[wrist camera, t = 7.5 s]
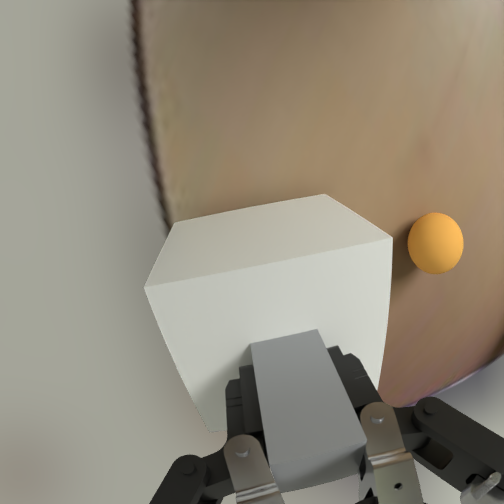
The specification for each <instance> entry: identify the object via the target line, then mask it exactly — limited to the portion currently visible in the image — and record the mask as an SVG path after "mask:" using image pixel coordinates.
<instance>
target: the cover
mask: <svg viewBox="0 0 504 504" xmlns="http://www.w3.org/2000/svg"><path fill="white" fill-rule="evenodd" d="M392 246H393V237H391V236H390V235H388V234H387V233H385V232H384V231H382V230H381V229H379V228H378V227H376V226H375V225H373V224H372V223H370V222H369V221H367V220H366V219H364V218H363V217H361V216H360V215H358V214H356V213H355V212H353V211H352V210H350V209H349V208H347V207H345V206H344V205H342V204H341V203H339V202H337V201H336V200H334V199H333V198H331V197H329V196H328V195H326V194H322V195H316V196H309V197H304V198H298V199H292V200H286V201H281V202H275V203H269V204H264V205H259V206H253V207H248V208H243V209H238V210H233V211H228V212H223V213H218V214H213V215H208V216H203V217H198V218H194V219H189V220H184V221H180V222H175V223H174V225H173V227H172V229H171V231H170V233H169V235H168V237H167V239H166V241H165V243H164V245H163V247H162V249H161V251H160V253H159V255H158V257H157V259H156V261H155V263H154V266H153V268H152V270H151V272H150V274H149V276H148V278H147V281H146V283H145V285H144V287H143V288H144V291H145V293H146V296H147V299H148V301H149V304H150V306H151V309H152V312H153V314H154V316H155V319H156V322H157V324H158V326H159V329H160V331H161V333H162V336H163V338H164V340H165V343H166V345H167V347H168V350H169V352H170V354H171V356H172V359H173V361H174V363H175V365H176V368H177V369H178V372H179V374H180V376H181V378H182V380H183V382H184V384H185V386H186V389H187V391H188V393H189V394H190V397H191V398H192V401H193V402H194V404H195V406H196V408H197V410H198V412H199V414H200V416H201V418H202V420H203V422H204V423H205V425H206V427H207V429H208V431H209V432H218V431H226V430H227V418H226V399H225V388H226V386H227V384H228V382H229V380H233V379H239V378H240V375H239V367H241V366H246V365H252V364H253V366H254V372H255V379H256V385H257V392H258V398H259V404H260V411H261V417H262V423H263V429H264V435H265V441H266V447H267V454H268V459H269V465H270V468H271V471H272V474H273V477H274V480H275V482H276V485H277V487H278V489H279V491H280V493H284V492H289V491H294V490H299V489H304V488H308V487H312V486H316V485H320V484H324V483H327V482H331V481H335V480H338V479H342V478H345V477H348V476H351V475H354V474H357V473H358V472H357V470H358V467H359V466H360V463H361V460H362V457H363V453H364V447H365V444H366V443H367V438H366V436H365V433H364V431H363V429H362V426H361V424H360V422H359V420H358V417H357V415H356V413H355V410H354V408H353V406H352V404H351V401H350V399H349V397H348V395H347V393H346V390H345V388H344V386H343V384H342V381H341V379H340V377H339V375H338V373H337V370H336V368H335V366H334V364H333V362H332V359H331V357H330V355H329V353H328V351H327V349H326V348H329V347H332V346H336V345H338V346H339V348H340V350H341V352H342V354H343V355H346V354H349V353H352V354H353V355H354V356H356V357H357V358H359V359H360V361H361V363H362V365H363V366H364V369H365V370H366V372H367V374H368V376H369V377H370V379H371V381H372V383H373V385H374V386H375V388H376V390H377V388H378V383H379V377H380V372H381V366H382V360H383V353H384V346H385V339H386V331H387V322H388V312H389V302H390V289H391V273H392Z"/></svg>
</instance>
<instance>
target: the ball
mask: <svg viewBox="0 0 504 504" xmlns="http://www.w3.org/2000/svg"><path fill="white" fill-rule="evenodd" d="M408 250H409V254H410V257H411V259H412V260H413V262H414V263H415V265H416V266H417V267H418V268H420V269H421V270H423V271H424V272H427V273H430V274H441V273H445V272H447V271H449V270H450V269H452V268H453V267H454V266H455V265H456V264H457V262H458V261H459V259H460V257H461V255H462V251H463V236H462V233H461V230H460V228H459V226H458V225H457V224H456V222H455V221H454V220H453V219H451V218H450V217H449V216H447V215H444V214H441V213H429V214H426V215H424V216H422V217H420V218H419V219H418V220H417V221H416V222H415V223H414V224H413V226H412V228H411V230H410V232H409V236H408Z"/></svg>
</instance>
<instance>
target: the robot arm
mask: <svg viewBox="0 0 504 504" xmlns="http://www.w3.org/2000/svg"><path fill="white" fill-rule="evenodd" d="M326 349H327V351H328V353H329V355H330V357H331V359H332V362H333V364H334V366H335V368H336V370H337V373H338V375H339V377H340V379H341V381H342V384H343V386H344V388H345V390H346V393H347V395H348V397H349V399H350V401H351V404H352V406H353V408H354V410H355V413H356V415H357V417H358V420H359V422H360V424H361V426H362V429H363V431H364V433H365V436H366V438H367V443H366V444H365V447H364V453H363V457H362V460H361V463H360V466H359V467H358V470H357V472H358V480H359V502H357V503H355V504H426V503H424V502H423V498H422V493H421V489H420V484H419V480H418V476H417V472H416V468H415V464H414V460H413V459H415V460H416V461H418V462H419V463H420V464H422V465H423V466H425V467H426V468H427V469H429V470H430V471H432V472H433V473H434V474H436V475H437V476H438V477H440V478H441V479H443V480H444V481H446V482H447V483H449V484H450V485H452V486H453V487H454V488H456V489H457V490H459V491H460V492H462V493H461V496H460V501H461V504H504V438H502V437H501V436H499V435H497V434H496V433H494V432H492V431H491V430H489V429H487V428H486V427H484V426H482V425H481V424H479V423H477V422H476V421H474V420H472V419H471V418H469V417H468V416H466V415H464V414H463V413H461V412H459V411H458V410H456V409H454V408H453V407H451V406H450V405H448V404H446V403H445V402H443V401H442V400H440V399H438V398H435V397H425V398H423V399H421V400H419V401H418V402H417V404H416V405H415V406H412V407H403V408H395V407H391V406H390V405H388V404H386V403H384V402H383V401H382V399H381V397H380V396H379V394H378V392H377V390H376V388H375V386H374V385H373V383H372V381H371V379H370V377H369V376H368V374H367V372H366V370H365V369H364V366H363V365H362V363H361V361H360V359H359V358H357V357H356V356H354V355H353V354H352V353H349V354H346V355H343V354H342V352H341V350H340V348H339V346H338V345H336V346H332V347H329V348H326ZM239 375H240V378H239V379H233V380H229V382H228V384H227V386H226V388H225V399H226V418H227V434H228V435H227V441H226V443H225V445H224V446H223V447H222V448H221V449H220V450H219V451H217V452H215V453H213V454H211V455H208V456H206V457H203V458H200V457H198V456H196V455H184V456H181V457H179V458H178V459H176V461H174V463H173V464H172V466H171V468H170V469H169V471H168V473H167V475H166V476H165V478H164V480H163V481H162V483H161V485H160V487H159V488H158V490H157V492H156V493H155V495H154V497H153V498H152V500H151V502H150V503H149V504H221V502H222V500H223V497H225V496H227V495H230V494H232V493H235V492H236V502H237V504H285V503H284V500H283V498H282V496H281V493H280V491H279V489H278V487H277V485H276V482H275V480H274V478H273V475H272V473H271V471H270V466H269V460H268V454H267V447H266V441H265V435H264V429H263V423H262V417H261V411H260V404H259V398H258V392H257V385H256V379H255V372H254V366H253V364H252V365H246V366H241V367H239Z"/></svg>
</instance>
